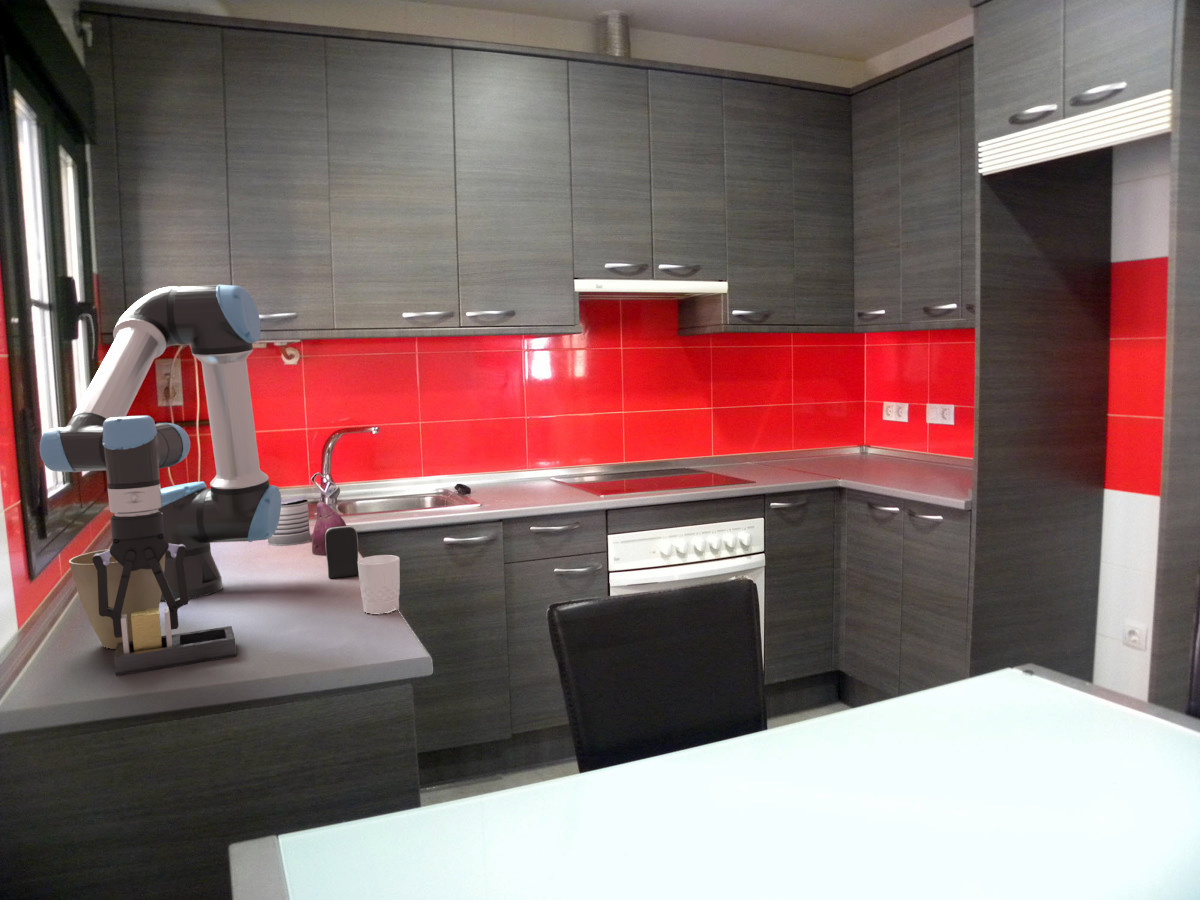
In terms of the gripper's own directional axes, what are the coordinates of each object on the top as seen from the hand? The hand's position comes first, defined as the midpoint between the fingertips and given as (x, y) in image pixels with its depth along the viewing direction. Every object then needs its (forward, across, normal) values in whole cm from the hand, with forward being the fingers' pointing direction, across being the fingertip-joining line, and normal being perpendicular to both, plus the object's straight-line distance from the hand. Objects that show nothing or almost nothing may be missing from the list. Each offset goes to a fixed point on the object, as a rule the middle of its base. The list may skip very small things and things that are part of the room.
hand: (148, 651), depth 146 cm
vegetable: (+2, +41, +74) cm, 84 cm away
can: (+2, +33, +94) cm, 99 cm away
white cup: (+2, +40, +11) cm, 42 cm away
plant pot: (+2, -4, +15) cm, 15 cm away
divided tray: (+2, +4, 0) cm, 4 cm away
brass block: (+1, 0, 0) cm, 1 cm away
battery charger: (+2, +39, +44) cm, 59 cm away
